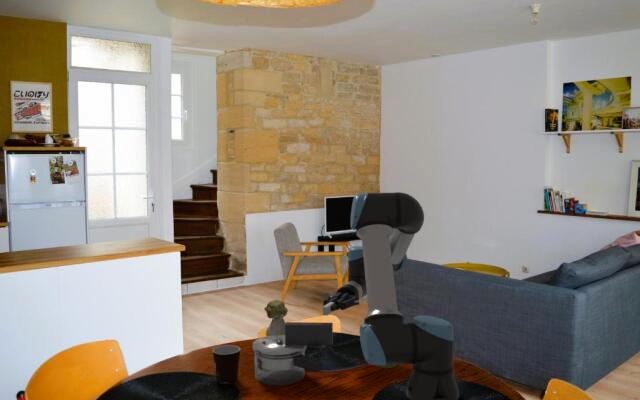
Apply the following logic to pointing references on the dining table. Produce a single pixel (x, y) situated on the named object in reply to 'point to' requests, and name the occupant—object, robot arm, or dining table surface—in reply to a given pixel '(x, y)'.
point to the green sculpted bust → (276, 317)
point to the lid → (295, 339)
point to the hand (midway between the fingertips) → (325, 311)
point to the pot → (284, 368)
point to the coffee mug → (226, 363)
